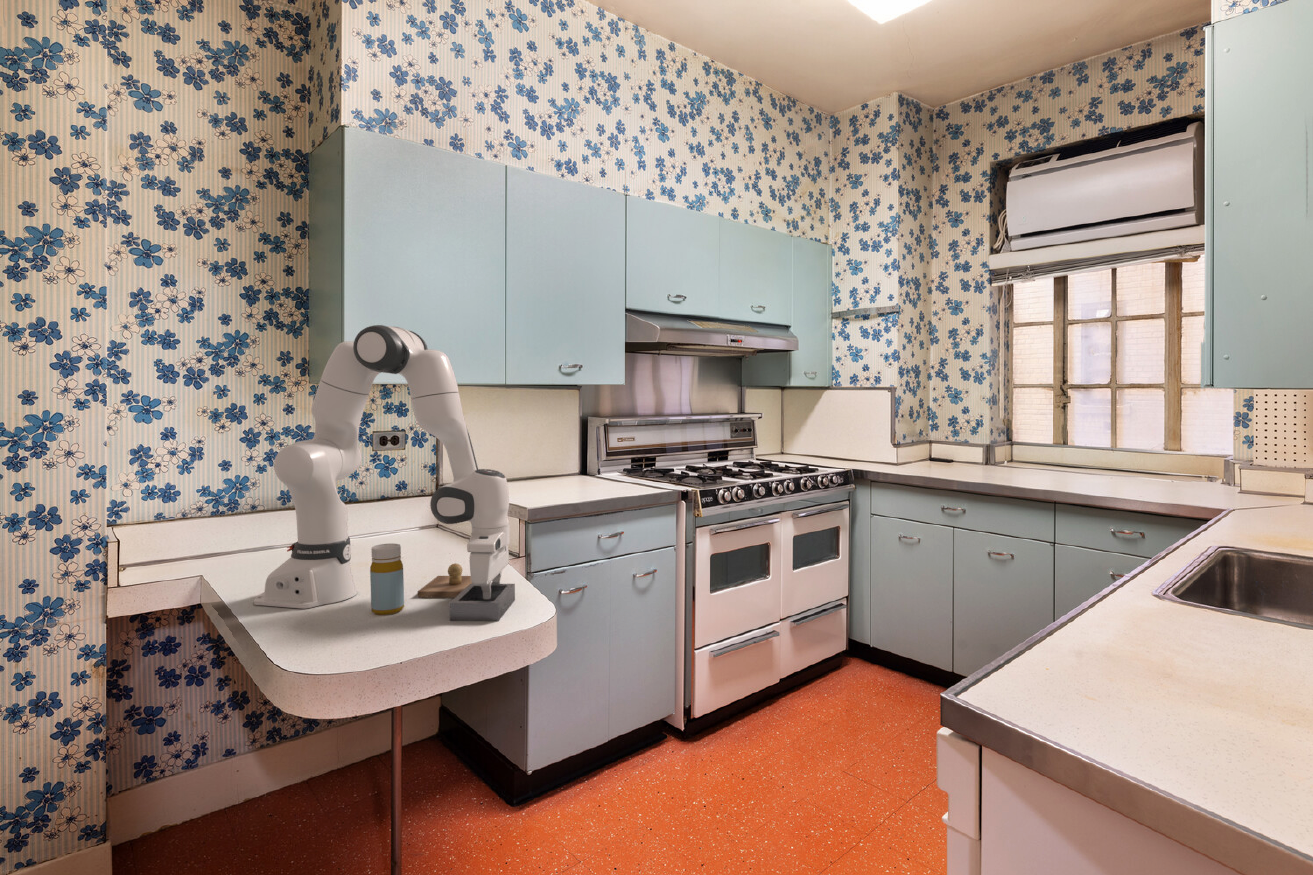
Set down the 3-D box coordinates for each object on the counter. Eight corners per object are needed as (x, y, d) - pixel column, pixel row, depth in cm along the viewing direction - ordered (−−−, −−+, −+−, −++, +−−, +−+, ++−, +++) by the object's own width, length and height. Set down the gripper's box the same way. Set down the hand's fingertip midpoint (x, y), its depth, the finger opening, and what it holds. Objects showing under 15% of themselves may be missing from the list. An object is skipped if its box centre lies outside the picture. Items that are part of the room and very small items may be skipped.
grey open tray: (449, 620, 144) (449, 602, 144) (470, 599, 159) (470, 583, 159) (498, 620, 144) (498, 603, 144) (515, 599, 159) (514, 583, 158)
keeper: (417, 597, 161) (417, 570, 160) (438, 581, 175) (437, 556, 174) (474, 597, 160) (473, 571, 160) (490, 581, 174) (489, 557, 174)
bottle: (392, 616, 147) (390, 550, 146) (364, 614, 148) (362, 549, 147) (410, 606, 154) (408, 543, 153) (383, 605, 155) (381, 542, 154)
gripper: (489, 528, 168) (490, 581, 168) (464, 546, 147) (465, 607, 148) (514, 528, 167) (515, 581, 168) (492, 546, 147) (493, 607, 148)
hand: (491, 593), depth 158 cm, fingers open, 6 cm apart
